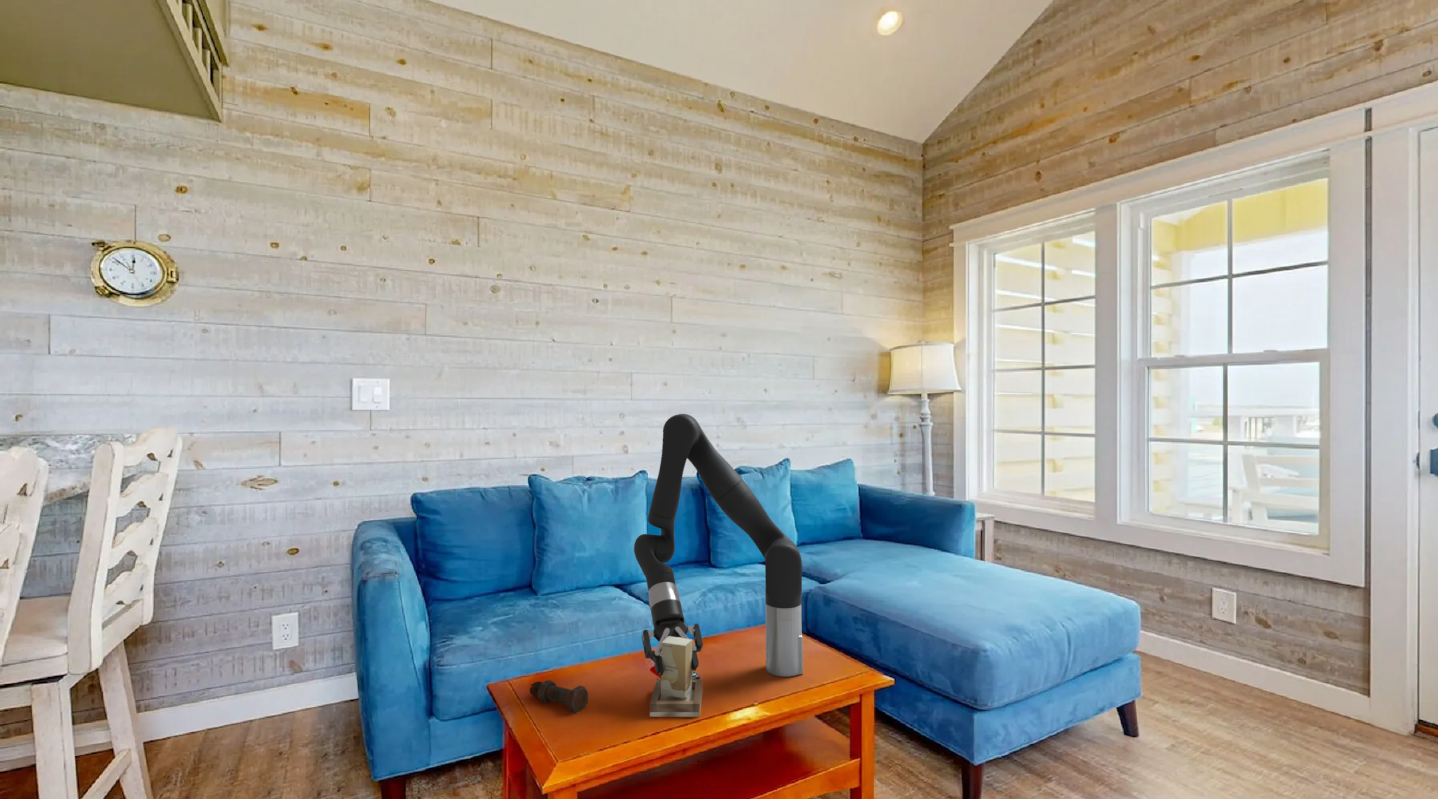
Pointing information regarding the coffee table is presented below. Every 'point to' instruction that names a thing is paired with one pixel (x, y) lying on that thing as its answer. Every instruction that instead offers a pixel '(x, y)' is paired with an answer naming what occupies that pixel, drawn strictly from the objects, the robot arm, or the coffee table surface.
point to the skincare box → (676, 667)
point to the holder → (676, 702)
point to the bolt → (561, 695)
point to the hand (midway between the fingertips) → (678, 671)
